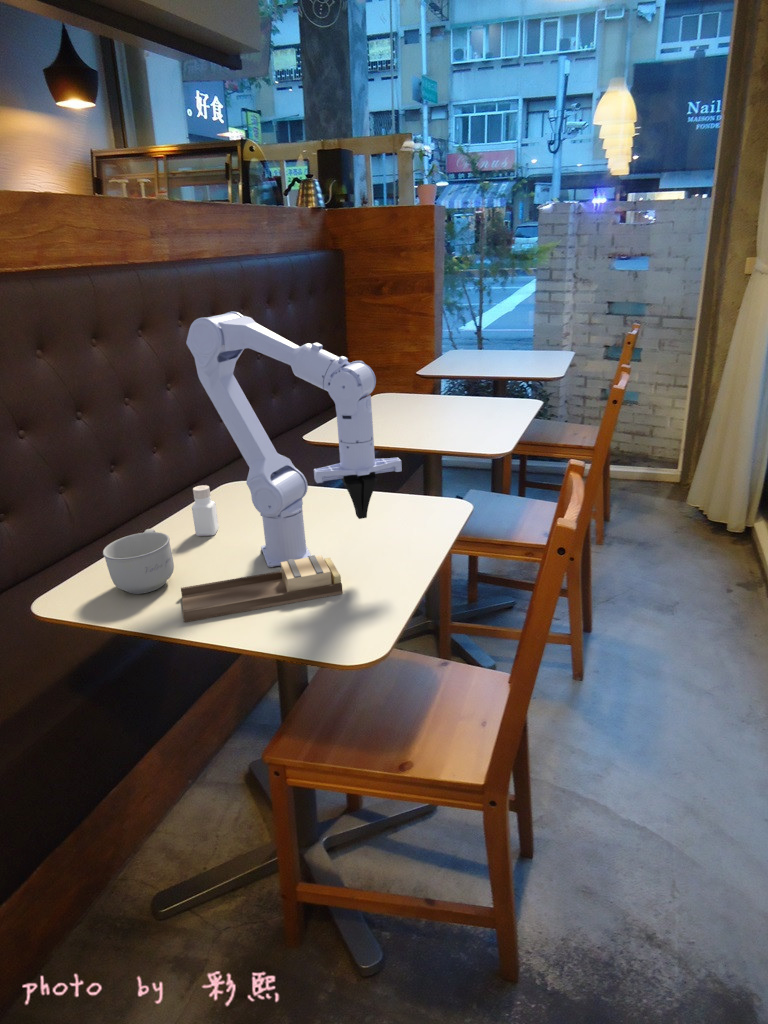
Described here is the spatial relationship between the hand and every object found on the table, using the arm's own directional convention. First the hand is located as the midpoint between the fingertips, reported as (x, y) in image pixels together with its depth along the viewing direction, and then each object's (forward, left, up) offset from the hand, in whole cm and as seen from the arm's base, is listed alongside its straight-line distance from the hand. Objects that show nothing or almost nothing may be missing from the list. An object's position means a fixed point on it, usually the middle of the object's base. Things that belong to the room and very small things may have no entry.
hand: (361, 516), depth 127 cm
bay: (+4, -19, -9) cm, 21 cm away
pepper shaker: (-28, -25, -10) cm, 39 cm away
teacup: (-9, -36, -10) cm, 39 cm away
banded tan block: (+4, -11, -9) cm, 15 cm away
